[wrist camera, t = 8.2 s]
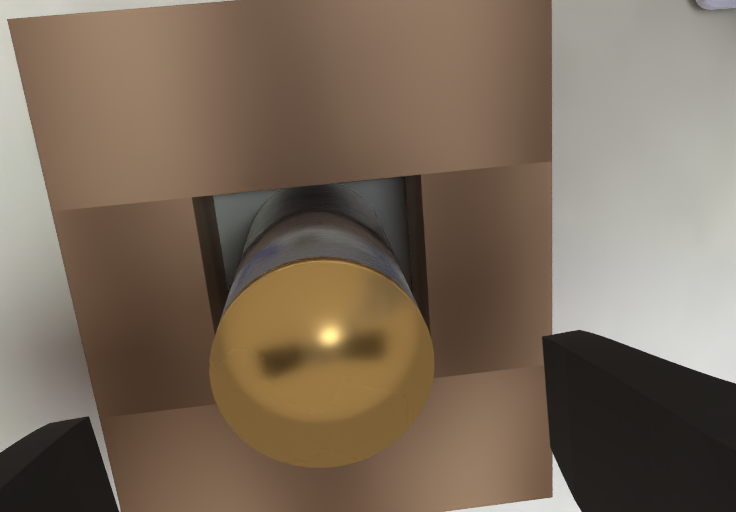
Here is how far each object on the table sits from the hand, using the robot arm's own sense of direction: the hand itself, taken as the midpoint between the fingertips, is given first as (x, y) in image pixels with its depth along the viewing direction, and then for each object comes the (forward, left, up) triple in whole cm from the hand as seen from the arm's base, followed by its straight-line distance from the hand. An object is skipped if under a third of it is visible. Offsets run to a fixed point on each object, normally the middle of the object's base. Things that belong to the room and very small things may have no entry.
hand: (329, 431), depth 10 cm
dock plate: (0, 0, -10) cm, 10 cm away
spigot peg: (0, 0, -10) cm, 10 cm away
